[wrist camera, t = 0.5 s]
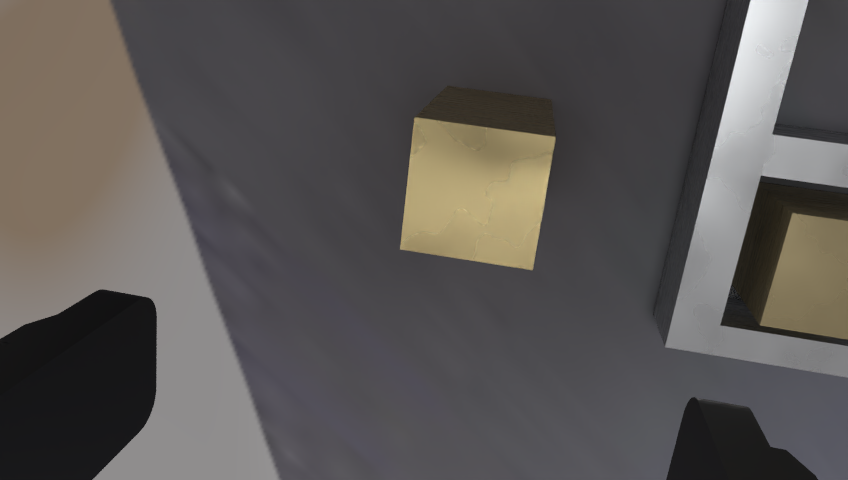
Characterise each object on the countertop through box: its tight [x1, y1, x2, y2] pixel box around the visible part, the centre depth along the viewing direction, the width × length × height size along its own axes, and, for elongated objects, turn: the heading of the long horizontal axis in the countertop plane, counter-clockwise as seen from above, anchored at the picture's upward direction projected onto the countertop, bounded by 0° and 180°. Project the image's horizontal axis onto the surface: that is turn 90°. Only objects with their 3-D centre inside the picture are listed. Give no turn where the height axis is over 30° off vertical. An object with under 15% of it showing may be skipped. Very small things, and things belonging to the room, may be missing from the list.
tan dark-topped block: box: [400, 86, 556, 270], centre depth 25 cm, size 4×4×8 cm
